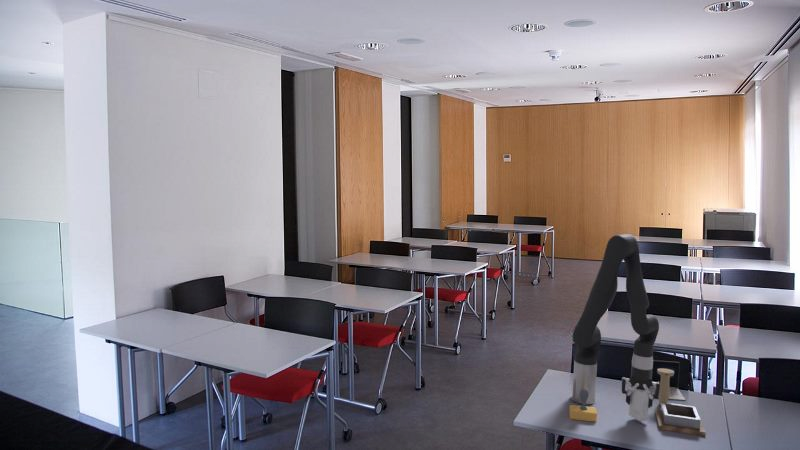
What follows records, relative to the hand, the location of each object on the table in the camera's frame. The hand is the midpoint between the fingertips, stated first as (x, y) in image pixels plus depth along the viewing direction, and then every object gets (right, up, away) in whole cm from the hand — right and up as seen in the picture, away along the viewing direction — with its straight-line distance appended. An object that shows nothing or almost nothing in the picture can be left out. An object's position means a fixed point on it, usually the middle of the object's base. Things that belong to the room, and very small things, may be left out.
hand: (638, 405), depth 228 cm
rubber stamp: (-21, -6, +3) cm, 22 cm away
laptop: (+21, -4, +28) cm, 35 cm away
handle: (+17, -5, +16) cm, 24 cm away
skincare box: (0, -5, +1) cm, 5 cm away
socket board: (+15, -7, -1) cm, 17 cm away
